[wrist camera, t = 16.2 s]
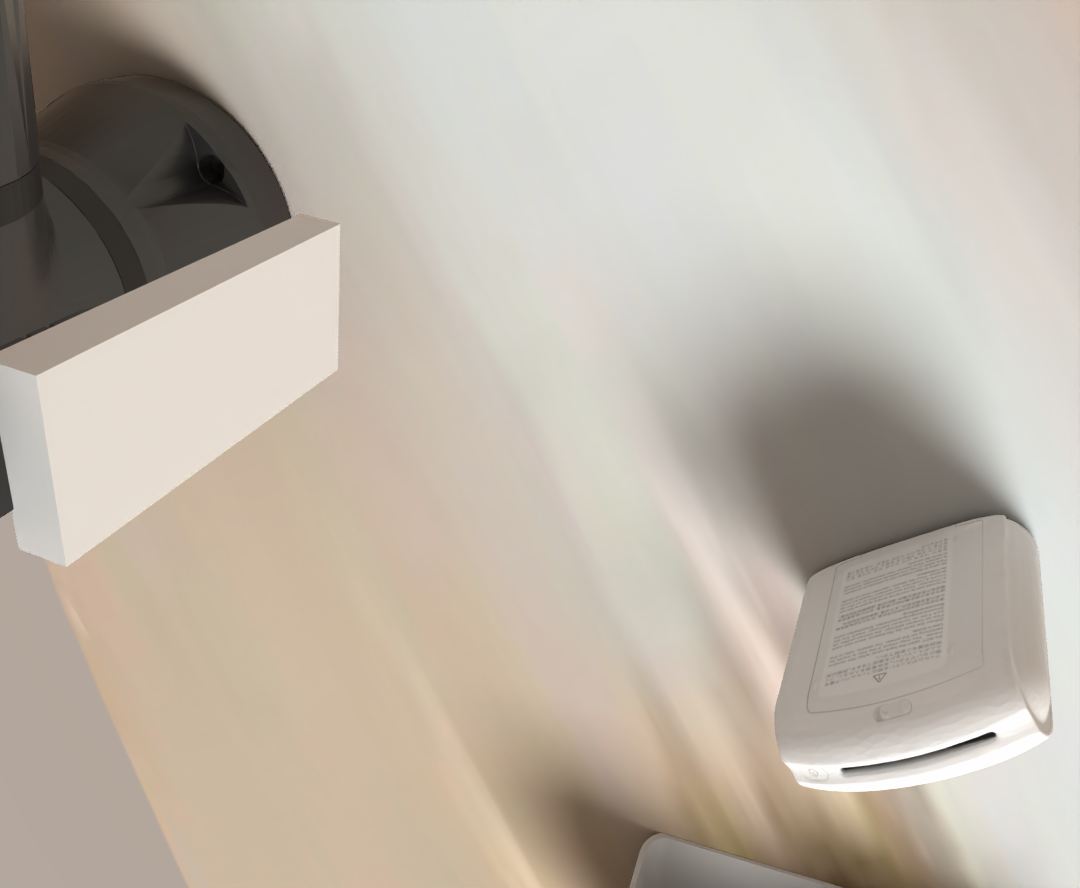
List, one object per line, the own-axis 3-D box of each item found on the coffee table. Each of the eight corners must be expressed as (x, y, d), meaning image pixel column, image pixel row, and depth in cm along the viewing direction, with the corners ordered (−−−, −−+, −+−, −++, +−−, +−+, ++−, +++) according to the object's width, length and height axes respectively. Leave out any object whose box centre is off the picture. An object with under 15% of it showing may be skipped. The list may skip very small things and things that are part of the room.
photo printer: (837, 639, 48) (801, 834, 38) (794, 570, 48) (746, 750, 37) (1056, 576, 43) (1083, 783, 33) (1012, 495, 42) (1026, 683, 32)
